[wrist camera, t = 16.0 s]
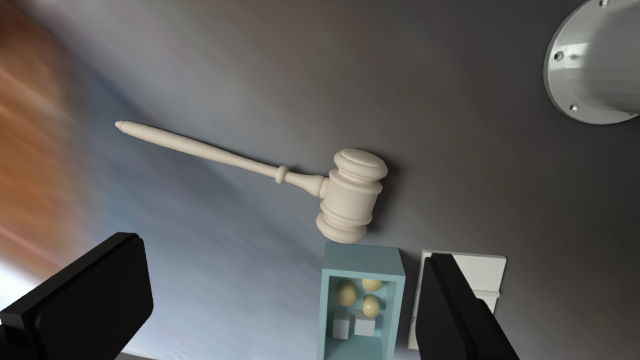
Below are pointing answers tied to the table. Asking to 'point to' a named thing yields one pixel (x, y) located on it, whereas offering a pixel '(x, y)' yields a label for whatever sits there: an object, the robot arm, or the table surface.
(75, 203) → the table surface
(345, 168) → the gavel
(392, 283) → the tub
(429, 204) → the table surface
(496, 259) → the lid
